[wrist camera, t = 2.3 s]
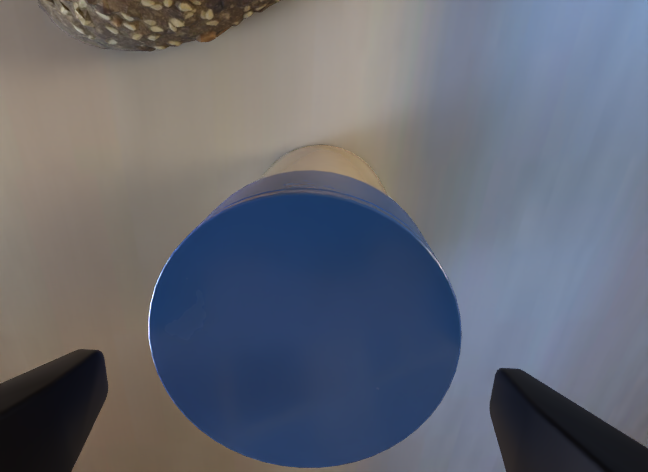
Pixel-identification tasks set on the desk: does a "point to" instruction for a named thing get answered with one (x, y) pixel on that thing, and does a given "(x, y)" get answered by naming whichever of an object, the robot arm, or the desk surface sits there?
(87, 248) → the desk surface
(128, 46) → the bread roll
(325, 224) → the jar lid
